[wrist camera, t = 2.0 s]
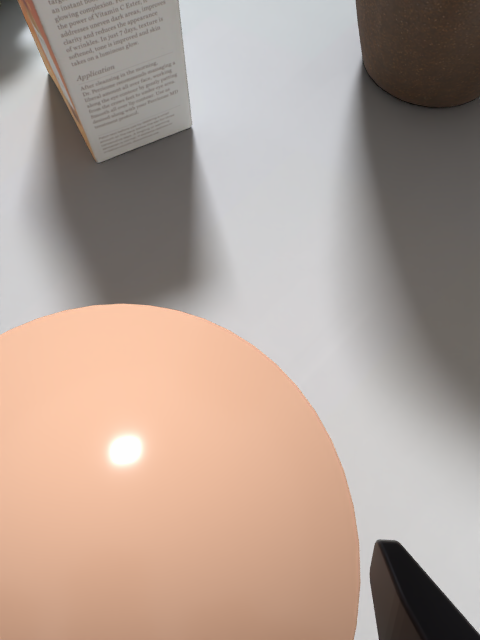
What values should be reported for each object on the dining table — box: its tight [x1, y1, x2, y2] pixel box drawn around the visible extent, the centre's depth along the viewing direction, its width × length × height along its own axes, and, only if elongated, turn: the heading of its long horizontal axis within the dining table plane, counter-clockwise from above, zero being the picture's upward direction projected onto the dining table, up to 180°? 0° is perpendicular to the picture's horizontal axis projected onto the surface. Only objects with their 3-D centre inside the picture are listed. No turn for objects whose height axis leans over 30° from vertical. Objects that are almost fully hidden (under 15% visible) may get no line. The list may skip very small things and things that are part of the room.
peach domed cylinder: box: [0, 304, 360, 640], centre depth 11 cm, size 7×7×12 cm
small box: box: [17, 0, 192, 163], centre depth 20 cm, size 8×6×10 cm
